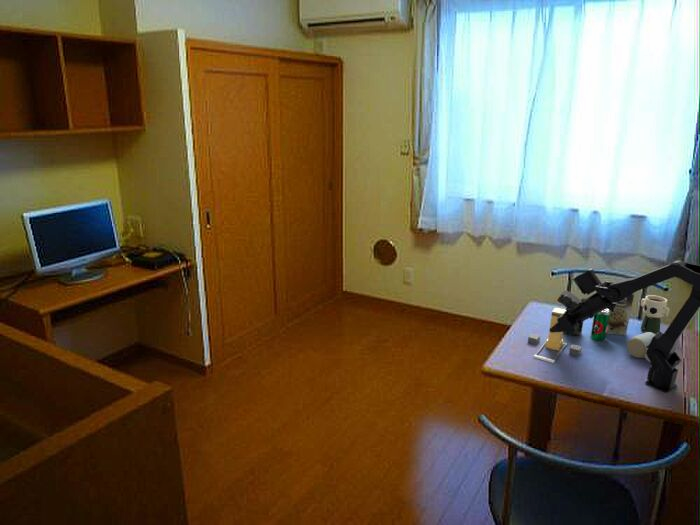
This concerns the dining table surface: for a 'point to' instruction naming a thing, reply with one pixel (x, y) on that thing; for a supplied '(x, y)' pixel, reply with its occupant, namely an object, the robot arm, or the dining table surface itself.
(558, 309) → the amber handle
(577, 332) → the supplement bottle
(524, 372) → the dining table surface
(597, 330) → the soda can
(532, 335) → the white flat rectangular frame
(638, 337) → the ceramic mug
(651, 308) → the character mug
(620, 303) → the coffee box
